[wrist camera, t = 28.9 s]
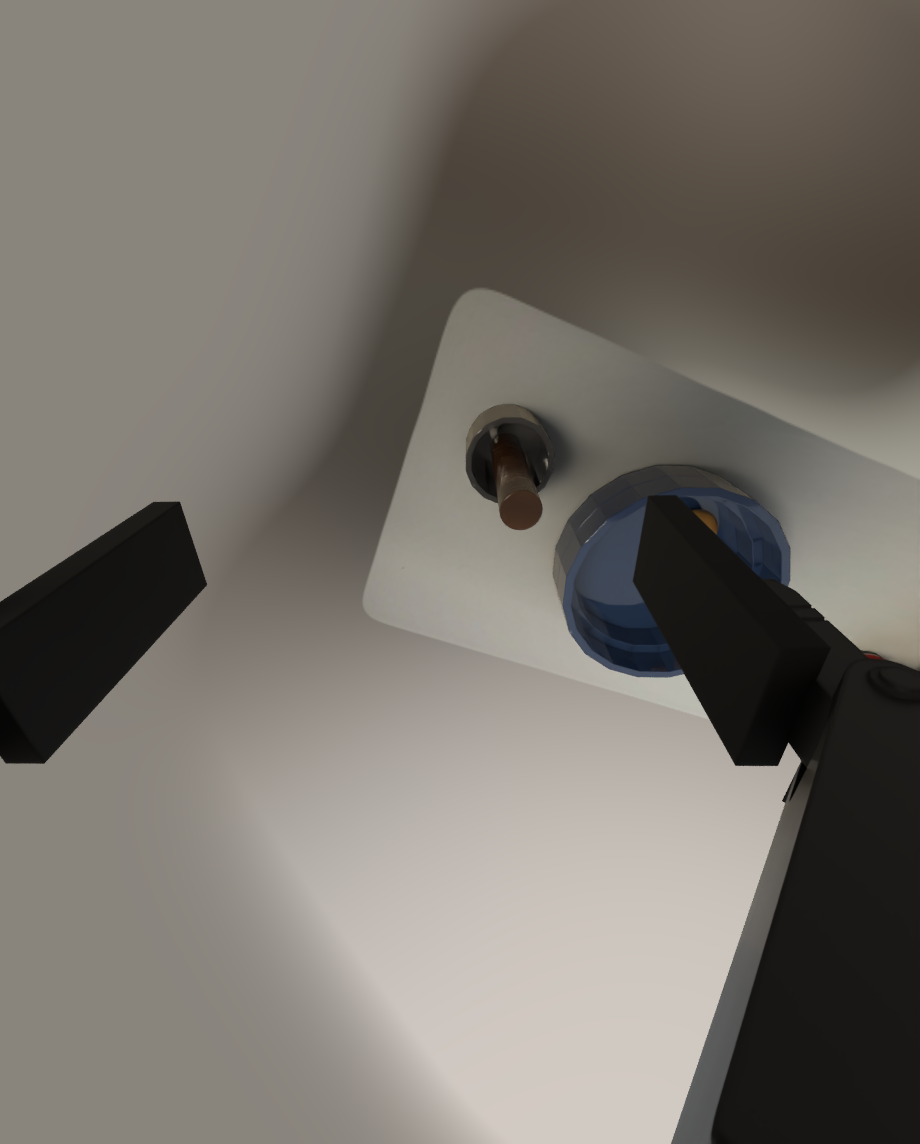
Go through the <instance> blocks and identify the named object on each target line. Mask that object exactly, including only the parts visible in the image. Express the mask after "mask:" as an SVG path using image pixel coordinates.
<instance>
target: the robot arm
mask: <svg viewBox="0 0 920 1144" xmlns="http://www.w3.org/2000/svg"><path fill="white" fill-rule="evenodd" d="M633 583H634V585H635V587H636V588H637V590H638V592H639V594H640V596H641V597H642V599H643V601H644V603H645V605H646V606H647V608H648V610H649V612H650V613H651V615H652V617H653V619H654V621H655V622H656V624H657V626H658V628H659V630H660V631H661V633H662V635H663V637H664V639H665V640H666V642H667V644H668V646H669V647H670V649H671V651H672V653H673V655H674V656H675V658H676V660H677V662H678V664H679V665H680V667H681V669H682V671H683V673H684V674H685V676H686V678H687V680H688V681H689V683H690V685H691V687H692V689H693V690H694V692H695V694H696V696H697V698H698V699H699V701H700V703H701V705H702V707H703V708H704V710H705V712H706V714H707V715H708V717H709V719H710V721H711V723H712V724H713V726H714V728H715V730H716V732H717V733H718V735H719V737H720V739H721V740H722V742H723V744H724V746H725V747H726V749H727V751H728V753H729V755H730V756H731V758H732V760H733V762H734V764H735V765H736V766H778V764H779V762H780V760H781V758H782V755H783V753H784V751H785V749H786V746H787V744H788V742H789V744H790V745H791V746H792V748H793V749H794V751H795V752H796V754H797V755H798V756H799V758H800V759H801V763H800V765H799V767H798V769H797V772H796V773H795V775H794V777H793V780H792V782H791V784H790V786H789V788H788V790H787V792H786V794H785V796H784V798H783V800H782V801H783V802H785V806H784V809H783V812H782V815H781V818H780V821H779V824H778V827H777V830H776V833H775V836H774V839H773V842H772V845H771V848H770V851H769V854H768V857H767V860H766V863H765V865H764V868H763V871H762V874H761V877H760V880H759V883H758V886H757V889H756V893H755V895H754V898H753V901H752V905H751V907H750V910H749V913H748V916H747V919H746V922H745V925H744V928H743V931H742V934H741V937H740V940H739V943H738V946H737V949H736V952H735V955H734V958H733V961H732V964H731V967H730V970H729V973H728V976H727V979H726V982H725V985H724V988H723V991H722V994H721V997H720V1000H719V1003H718V1006H717V1009H716V1012H715V1015H714V1017H713V1020H712V1024H711V1026H710V1029H709V1033H708V1035H707V1038H706V1041H705V1045H704V1047H703V1050H702V1053H701V1056H700V1059H699V1062H698V1065H697V1068H696V1071H695V1074H694V1077H693V1080H692V1083H691V1086H690V1089H689V1092H688V1095H687V1098H686V1101H685V1104H684V1107H683V1110H682V1113H681V1116H680V1119H679V1122H678V1125H677V1128H676V1131H675V1134H674V1137H673V1140H672V1143H671V1144H920V672H919V671H916V670H914V669H912V668H909V667H907V666H904V665H902V664H899V663H895V662H891V661H887V660H883V659H870V658H868V657H867V656H866V655H865V654H864V653H863V652H862V651H861V650H860V649H858V648H857V647H856V646H855V645H854V644H853V643H852V642H851V641H850V640H849V639H848V638H846V637H845V636H844V635H843V634H842V633H841V632H840V631H839V630H838V629H837V628H836V627H834V626H833V625H832V624H831V623H830V622H829V621H828V620H824V616H822V615H821V614H820V613H819V612H818V611H817V610H816V609H815V608H811V605H810V604H809V603H808V602H807V601H806V600H805V599H804V598H803V597H802V596H801V595H800V594H798V593H797V592H796V591H795V590H793V589H791V588H789V587H787V586H785V585H784V584H782V583H780V582H778V581H776V580H774V579H761V578H760V577H759V576H758V575H757V574H756V573H755V572H754V571H753V570H752V569H751V568H750V567H749V566H748V565H747V564H746V563H745V562H744V561H743V560H742V559H741V558H740V557H739V556H737V555H736V554H735V553H734V552H733V551H732V550H731V549H730V548H729V547H728V546H727V545H726V544H725V543H724V542H723V541H722V540H721V539H720V538H719V537H718V536H717V535H716V534H715V533H714V532H713V531H712V530H711V529H710V528H709V527H708V526H707V525H706V524H705V523H704V522H703V521H702V520H701V519H700V518H699V517H698V516H697V515H696V514H695V513H694V512H693V511H692V510H691V509H690V508H689V507H688V506H687V505H686V504H685V503H684V502H683V501H682V500H681V499H680V498H679V497H678V496H677V495H648V498H647V504H646V510H645V515H644V521H643V526H642V532H641V537H640V543H639V549H638V554H637V560H636V565H635V571H634V576H633ZM206 585H207V583H206V580H205V577H204V574H203V571H202V568H201V565H200V562H199V559H198V556H197V552H196V549H195V546H194V544H193V540H192V537H191V534H190V531H189V528H188V525H187V522H186V519H185V516H184V513H183V510H182V507H181V504H180V502H153V503H151V504H150V505H148V506H147V507H145V508H144V509H142V510H140V511H139V512H137V513H136V514H134V515H133V516H131V517H130V518H128V519H127V520H125V521H123V522H122V523H120V524H119V525H118V526H116V527H115V528H113V529H111V530H110V531H108V532H107V533H105V534H104V535H102V536H100V537H99V538H98V539H96V540H94V541H93V542H91V543H90V544H88V545H87V546H85V547H84V548H82V549H81V550H79V551H77V552H76V553H74V554H73V555H71V556H70V557H68V558H67V559H65V560H64V561H62V562H61V563H59V564H58V565H56V566H55V567H53V568H52V569H50V570H48V571H47V572H45V573H44V574H42V575H41V576H39V577H38V578H36V579H35V580H33V581H32V582H30V583H28V584H27V585H25V586H24V587H22V588H21V589H19V590H18V591H16V592H15V593H13V594H12V595H10V596H9V597H7V598H5V599H4V600H3V601H1V602H0V756H1V758H2V759H3V760H4V762H5V763H40V764H41V763H42V764H44V763H45V762H46V761H47V760H48V759H49V758H50V757H51V756H52V754H53V753H54V752H55V751H56V750H57V749H58V748H59V747H60V746H61V745H62V744H63V742H64V741H65V740H66V739H67V738H68V737H69V736H70V735H71V734H72V733H73V731H74V730H75V729H76V728H77V727H78V726H79V725H80V724H81V723H82V722H83V720H84V719H85V718H86V717H87V716H88V715H89V714H90V713H91V712H92V711H93V709H94V708H95V707H96V706H97V705H98V704H99V703H100V702H101V701H102V700H103V699H104V697H105V696H106V695H107V694H108V693H109V692H110V691H111V690H112V689H113V688H114V686H115V685H116V684H117V683H118V682H119V681H120V680H121V679H122V678H123V676H125V674H126V673H127V672H128V671H129V670H130V669H131V668H132V667H133V666H134V665H135V663H136V662H137V661H138V660H139V659H140V658H141V657H142V656H143V655H144V654H145V652H146V651H147V650H148V649H149V648H150V647H151V646H152V645H153V644H154V643H155V641H156V640H157V639H158V638H159V637H160V636H161V635H162V634H163V632H164V631H165V630H166V629H167V628H168V627H169V626H170V625H171V624H172V623H173V621H175V620H176V618H177V617H178V616H179V615H180V614H181V613H182V612H183V611H184V610H185V609H186V607H187V606H188V605H189V604H190V603H191V602H192V601H193V600H194V599H195V597H197V595H198V594H199V593H200V592H201V591H202V590H203V589H204V588H205V587H206Z"/></svg>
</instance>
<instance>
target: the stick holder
mask: <svg viewBox="0 0 920 1144" xmlns="http://www.w3.org/2000/svg"><path fill="white" fill-rule="evenodd" d="M501 433H510V434H513V435H514V436H516V437H517V439H518V440H519V443H520V445H521V448H522V451H523V454H524V456H525V459H526V462H527V465H528V467H529V470H530V473H531V476H532V478H533V481H534V484H535V487H536V489H537V492H539V491H541V490H542V489H543V488H544V487H545V486H546V484H547V482H548V480H549V478H550V476H551V474H552V472H553V466H554V456H555V455H554V451H553V448H552V444H551V441H550V438H549V437H548V435H547V433H546V432H545V430H544V428H543V427H542V425H541V423H540V422H539V421H538V420H537V419H536V417H535V416H534V415H533V414H532V413H531V412H530V411H528V410H526V409H524V408H522V407H520V406H517V405H511V404H503V405H497V406H494V407H491V408H489V409H487V410H486V411H484V412H483V413H481V414H480V415H479V416H478V417H477V418H476V419H475V421H474V422H473V424H472V425H471V427H470V429H469V432H468V435H467V438H466V472H467V475H468V477H469V480H470V482H471V484H472V486H473V487H474V488H475V489H476V490H477V491H478V492H479V493H480V494H481V495H482V496H483V497H484V498H486V499H488V500H491V501H493V502H496V503H498V498H497V491H496V484H495V477H494V470H493V464H492V457H491V450H490V447H491V443H492V441H493V439H494V438H495V437H496V436H497V435H499V434H501Z"/></svg>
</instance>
